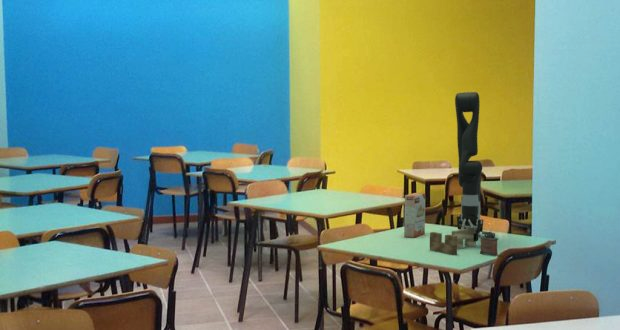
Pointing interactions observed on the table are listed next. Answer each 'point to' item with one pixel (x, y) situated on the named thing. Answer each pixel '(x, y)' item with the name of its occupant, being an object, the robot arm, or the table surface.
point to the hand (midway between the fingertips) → (469, 240)
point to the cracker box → (414, 215)
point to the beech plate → (464, 237)
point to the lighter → (488, 244)
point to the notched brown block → (439, 246)
